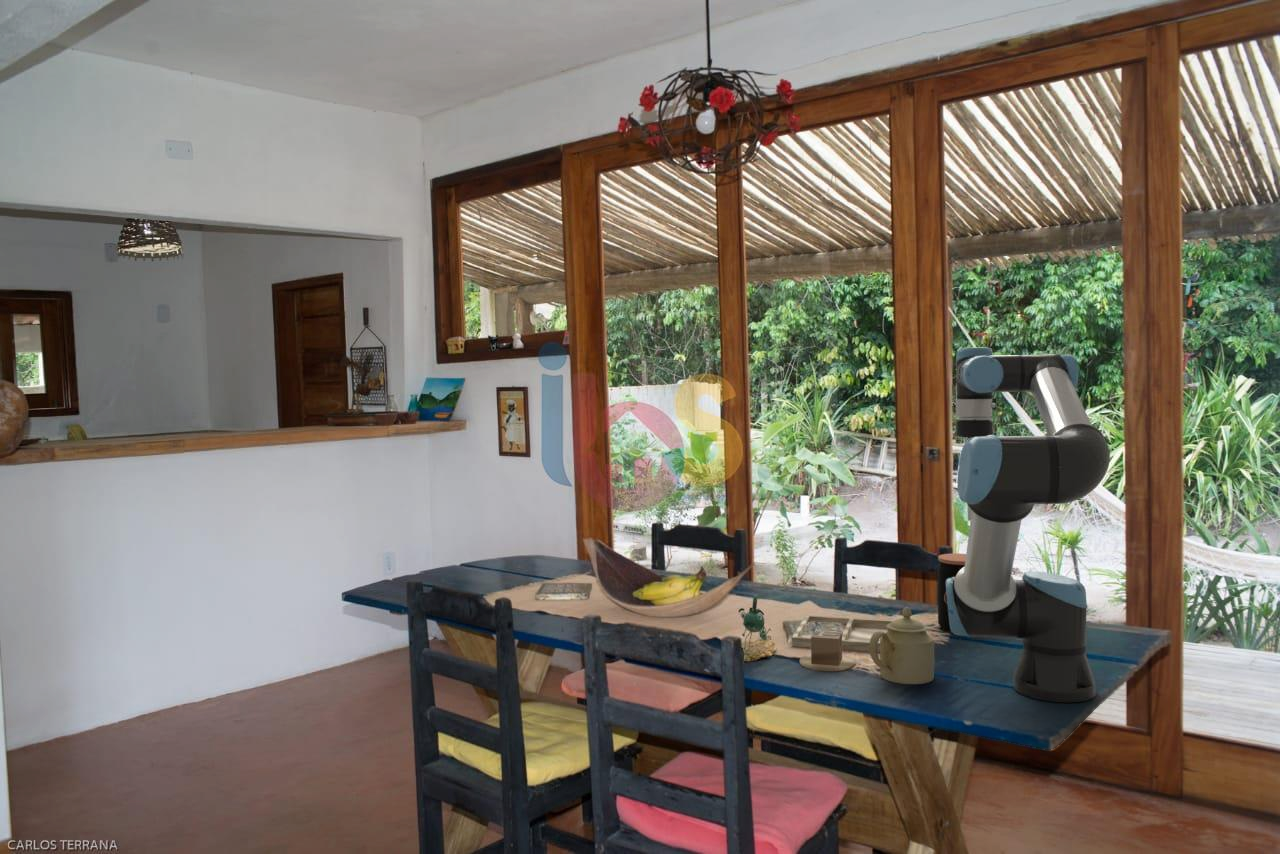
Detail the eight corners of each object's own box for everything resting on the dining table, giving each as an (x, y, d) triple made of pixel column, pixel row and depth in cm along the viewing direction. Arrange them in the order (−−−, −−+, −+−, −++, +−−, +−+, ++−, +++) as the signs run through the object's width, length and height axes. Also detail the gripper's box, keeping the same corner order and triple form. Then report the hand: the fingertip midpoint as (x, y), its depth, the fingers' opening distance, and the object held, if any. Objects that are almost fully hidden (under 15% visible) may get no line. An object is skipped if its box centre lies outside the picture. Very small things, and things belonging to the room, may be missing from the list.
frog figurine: (794, 648, 230) (791, 587, 227) (754, 675, 216) (750, 611, 214) (759, 641, 236) (756, 582, 233) (718, 667, 222) (714, 604, 220)
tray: (892, 655, 222) (892, 644, 222) (791, 647, 229) (791, 637, 229) (898, 630, 243) (898, 620, 243) (806, 624, 250) (806, 615, 250)
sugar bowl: (921, 693, 195) (921, 619, 195) (867, 685, 201) (867, 613, 200) (940, 673, 208) (939, 603, 207) (888, 666, 214) (888, 598, 213)
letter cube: (838, 666, 213) (838, 638, 213) (811, 663, 215) (811, 636, 214) (842, 658, 219) (842, 631, 218) (815, 656, 220) (815, 629, 220)
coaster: (851, 673, 209) (851, 671, 209) (795, 668, 213) (795, 666, 213) (857, 657, 220) (857, 655, 220) (804, 653, 224) (804, 651, 224)
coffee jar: (939, 633, 240) (939, 560, 239) (936, 622, 250) (936, 552, 249) (985, 635, 237) (985, 561, 236) (980, 624, 248) (980, 553, 247)
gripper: (994, 421, 199) (994, 524, 200) (991, 415, 222) (991, 508, 223) (955, 421, 201) (955, 523, 202) (956, 416, 225) (956, 507, 226)
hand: (974, 516), depth 213 cm, fingers open, 13 cm apart
